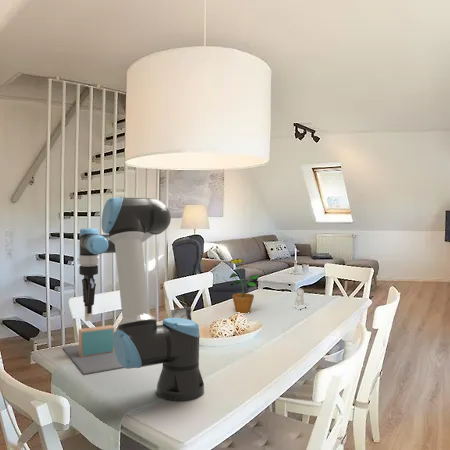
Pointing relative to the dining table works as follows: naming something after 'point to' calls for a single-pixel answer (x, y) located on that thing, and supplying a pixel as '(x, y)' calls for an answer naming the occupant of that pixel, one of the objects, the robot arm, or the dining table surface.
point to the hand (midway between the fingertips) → (88, 320)
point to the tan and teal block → (96, 340)
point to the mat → (93, 361)
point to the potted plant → (243, 299)
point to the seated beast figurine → (299, 297)
